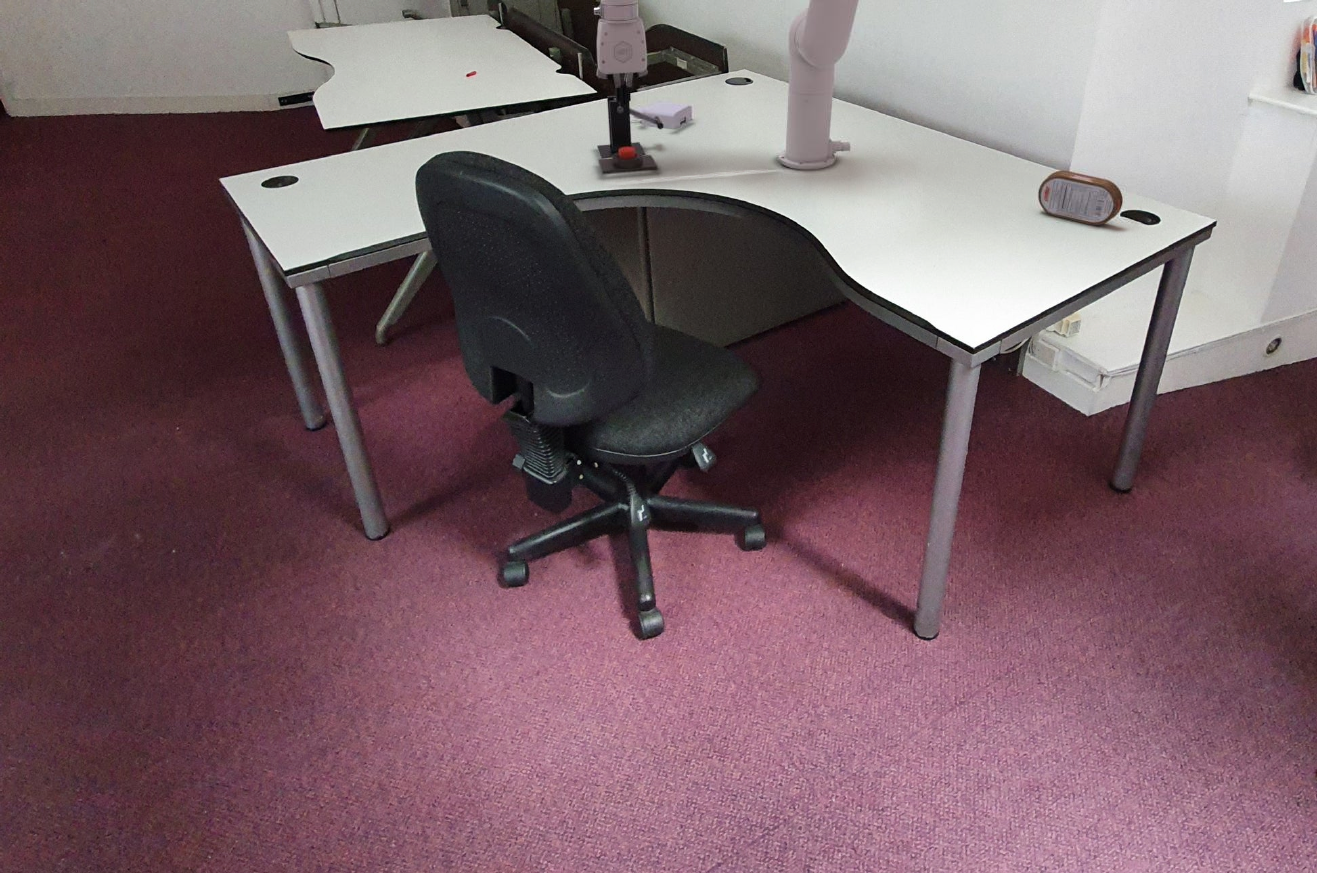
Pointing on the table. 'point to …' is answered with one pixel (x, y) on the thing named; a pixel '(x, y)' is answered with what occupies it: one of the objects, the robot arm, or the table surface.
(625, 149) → the button
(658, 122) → the lever
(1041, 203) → the tin
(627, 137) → the bracket
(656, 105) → the charger
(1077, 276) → the table surface
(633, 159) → the control block
